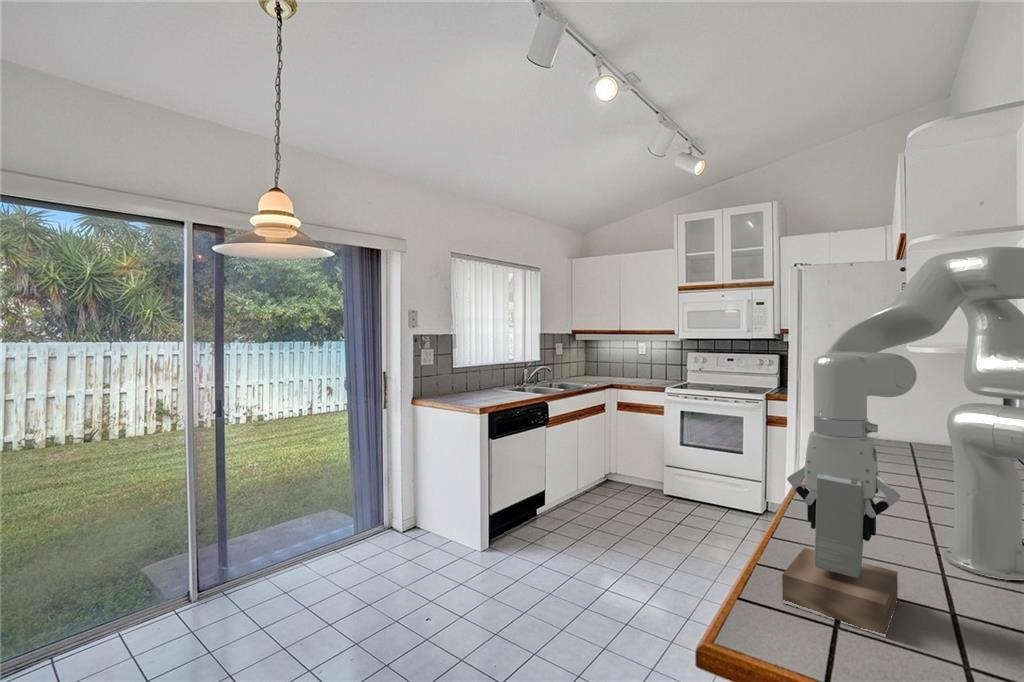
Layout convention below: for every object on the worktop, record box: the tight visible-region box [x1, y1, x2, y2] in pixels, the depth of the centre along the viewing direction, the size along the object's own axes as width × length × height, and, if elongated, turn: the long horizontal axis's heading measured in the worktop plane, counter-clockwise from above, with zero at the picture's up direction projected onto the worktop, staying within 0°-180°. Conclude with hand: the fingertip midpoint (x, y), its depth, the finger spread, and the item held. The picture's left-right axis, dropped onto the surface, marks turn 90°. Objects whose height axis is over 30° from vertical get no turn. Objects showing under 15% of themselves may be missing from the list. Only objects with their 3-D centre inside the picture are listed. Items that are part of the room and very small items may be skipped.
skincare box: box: [814, 474, 865, 578], centre depth 83 cm, size 8×7×16 cm
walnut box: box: [781, 547, 899, 634], centre depth 83 cm, size 14×14×5 cm
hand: (840, 531), depth 83 cm, fingers closed on skincare box, 6 cm apart
